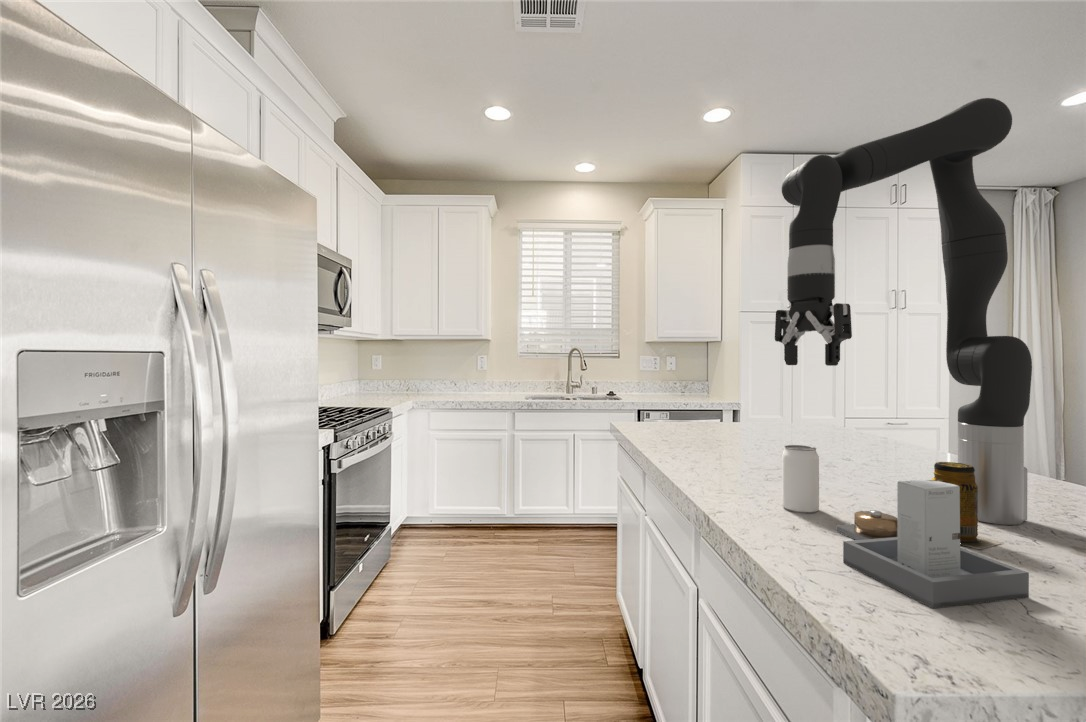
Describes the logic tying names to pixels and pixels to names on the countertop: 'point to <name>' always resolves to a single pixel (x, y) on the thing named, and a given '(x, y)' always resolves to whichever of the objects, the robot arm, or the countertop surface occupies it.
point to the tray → (972, 586)
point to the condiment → (964, 501)
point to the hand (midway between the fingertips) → (810, 365)
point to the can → (800, 479)
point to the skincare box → (929, 527)
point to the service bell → (870, 526)
